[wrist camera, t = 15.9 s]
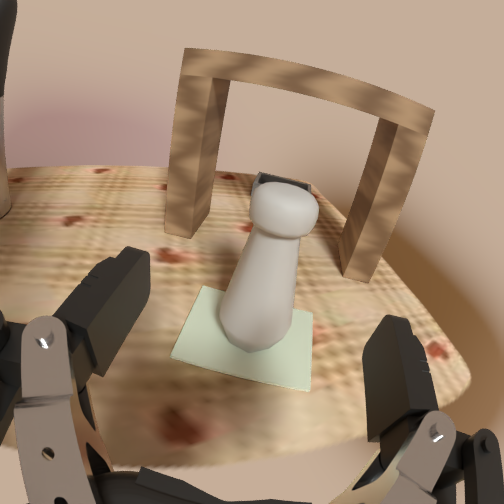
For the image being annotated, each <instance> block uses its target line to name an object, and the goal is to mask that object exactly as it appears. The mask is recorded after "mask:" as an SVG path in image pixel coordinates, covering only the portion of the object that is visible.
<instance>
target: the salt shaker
mask: <svg viewBox="0 0 504 504" xmlns="http://www.w3.org/2000/svg"><path fill="white" fill-rule="evenodd" d="M318 213H319V206H318V203H317V201H316V199H315V198H314V196H313V195H311V194H310V193H309V192H308V191H306V190H304V189H302V188H300V187H297V186H294V185H291V184H287V183H280V182H266V183H264V184H262V185H260V186H259V187H257V188H255V189H254V192H253V194H252V197H251V201H250V208H249V217H250V220H251V221H252V222H253V223H254V226H253V228H252V230H251V233H250V235H249V237H248V240H247V242H246V245H245V247H244V249H243V252H242V254H241V257H240V259H239V261H238V264H237V266H236V268H235V271H234V273H233V276H232V278H231V280H230V283H229V285H228V288H227V290H226V293H225V295H224V297H223V300H222V302H221V308H220V313H219V317H220V321H221V323H222V325H223V327H224V330H225V332H226V335H227V337H228V340H229V342H230V343H231V344H233V345H235V346H236V347H238V348H240V349H242V350H244V351H246V352H248V353H252V352H257V351H261V350H265V349H269V348H271V347H272V346H273V345H275V344H276V343H278V342H279V341H281V340H282V339H283V338H284V336H285V335H286V333H287V331H288V330H289V328H290V326H291V323H292V314H293V305H294V296H295V286H296V276H297V266H298V255H299V246H300V238H301V237H304V236H307V235H308V234H309V233H310V231H311V230H312V229H313V228H314V226H315V224H316V221H317V219H318Z"/></svg>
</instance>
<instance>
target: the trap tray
mask: <svg viewBox="0 0 504 504" xmlns="http://www.w3.org/2000/svg"><path fill="white" fill-rule="evenodd" d="M266 182H280V183H287V184H291V185H294V186H297V187H300V188H302V189H304V190H306V191H308V192H309V193H310V194H311V185H310V184H306V183H303V182H299V181H295V180H291V179H287V178H283V177H279V176H275V175H270V174H266V173H262V172H259V173H258V175H257V177H256V179H255V181H254V183H253V187H252V192H251V196H252V194H253V192H254V189H255V188H257V187H259V186H260V185H262V184H264V183H266Z"/></svg>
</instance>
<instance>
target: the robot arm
mask: <svg viewBox="0 0 504 504" xmlns="http://www.w3.org/2000/svg"><path fill="white" fill-rule="evenodd" d="M16 15H17V0H0V218H1V217H2V216H4V215H5V214H6V213H7V212H8V211H9V210H10V208H11V200H10V193H9V186H8V177H7V168H6V158H5V146H4V145H5V144H4V119H3V118H4V117H3V116H4V114H3V113H4V112H3V111H4V110H3V109H4V96H3V95H4V84H5V79H6V71H7V62H8V56H9V49H10V45H11V39H12V34H13V30H14V26H15V21H16ZM149 294H150V255H149V253H148V252H146V251H143V250H140V249H136V248H133V247H129V246H127V247H125V248H124V249H123V250H122V251H121V253H120V254H119V255H118V256H117V257H116V258H113V257H109V258H107V259H105V260H103V261H101V262H100V263H98V264H96V266H95V267H94V268H93V269H92V270H91V271H90V272H89V273H88V276H86V277H85V278H84V279H83V280H82V281H81V284H79V285H78V286H77V287H76V288H75V289H74V290H73V292H72V293H71V294H70V295H69V296H68V298H67V299H66V300H65V301H64V302H63V303H62V305H61V306H60V307H59V308H58V310H57V311H56V312H55V313H54V314H53V315H52V316H41V317H38V318H35V319H33V320H32V321H31V322H29V323H28V324H27V325H26V324H20V323H14V322H8V321H6V320H5V318H4V316H3V314H2V312H1V310H0V445H1V443H2V441H3V439H4V436H5V434H6V432H7V430H8V428H9V426H10V424H11V421H12V419H13V417H14V422H15V431H16V440H17V447H18V453H19V459H20V465H21V470H22V475H23V479H24V484H25V488H26V492H27V496H28V500H29V503H28V504H312V503H306V502H293V501H282V500H274V499H268V500H255V501H234V502H227V501H223V500H220V499H218V498H216V497H214V496H212V495H210V494H208V493H206V492H204V491H202V490H200V489H198V488H196V487H194V486H192V485H190V484H188V483H186V482H185V481H183V480H180V479H176V478H173V477H170V476H167V475H164V474H161V473H158V472H155V471H153V470H150V469H147V468H144V467H142V466H141V469H140V471H139V472H134V471H115V472H114V470H113V467H112V464H111V461H110V458H109V455H108V452H107V450H106V447H105V445H104V443H103V441H102V438H101V436H100V433H99V429H98V425H97V421H96V417H95V413H94V409H93V404H92V400H91V395H90V390H89V385H88V379H89V377H90V376H91V374H92V372H93V373H95V374H97V375H99V376H101V377H104V375H105V373H106V371H107V370H108V368H109V366H110V364H111V362H112V361H113V359H114V357H115V355H116V354H117V352H118V350H119V348H120V347H121V345H122V343H123V342H124V340H125V338H126V336H127V335H128V333H129V331H130V330H131V328H132V326H133V325H134V323H135V321H136V320H137V318H138V316H139V315H140V313H141V312H142V310H143V308H144V307H145V305H146V303H147V301H148V298H149ZM362 363H363V373H364V385H365V398H366V414H367V436H368V442H380V449H378V450H377V451H376V452H375V454H374V455H373V456H372V458H371V459H370V460H369V462H368V463H367V464H366V466H365V467H364V468H363V469H362V471H361V472H360V473H359V475H358V476H357V477H356V478H355V479H354V481H353V482H352V483H351V484H350V485H349V487H348V488H347V489H346V490H345V491H344V492H343V493H342V494H340V495H339V496H338V497H336V498H335V499H334V500H332V501H331V502H330V503H329V504H456V483H459V482H460V481H462V480H464V482H465V504H504V482H503V471H502V463H501V455H500V448H499V443H498V440H497V438H496V436H495V434H494V433H493V432H491V431H490V430H488V429H481V430H479V431H478V432H476V433H475V434H473V435H472V436H470V435H467V434H464V433H462V432H459V431H456V429H455V425H454V423H453V421H452V420H451V418H450V417H449V416H448V415H447V414H445V413H443V412H441V411H439V409H438V404H437V399H436V395H435V390H434V386H433V381H432V377H431V373H429V371H430V369H429V365H428V363H427V358H426V354H425V351H424V347H423V346H422V344H421V343H420V341H419V340H418V338H417V337H416V336H415V335H413V333H412V330H411V326H410V323H409V321H408V319H406V318H402V317H397V316H393V315H386V316H385V317H384V318H383V319H382V321H381V322H380V324H379V325H378V327H377V328H376V330H375V331H374V333H373V334H372V336H371V337H370V339H369V340H368V342H367V343H366V345H365V347H364V350H363V355H362Z"/></svg>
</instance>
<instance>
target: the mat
mask: <svg viewBox="0 0 504 504" xmlns="http://www.w3.org/2000/svg"><path fill="white" fill-rule="evenodd" d="M225 293H226V292H225V291H222V290H218V289H214V288H210V287H207V286H202V288H201V290H200V293H199V295H198V297H197V299H196V301H195V303H194V305H193V307H192V310H191V312H190V314H189V316H188V318H187V320H186V322H185V324H184V327H183V329H182V331H181V333H180V335H179V337H178V340H177V342H176V344H175V346H174V348H173V351H172V353H171V355H170V358H173V359H176V360H179V361H182V362H185V363H189V364H192V365H195V366H199V367H202V368H206V369H209V370H213V371H217V372H220V373H224V374H228V375H232V376H236V377H240V378H244V379H248V380H252V381H257V382H261V383H266V384H270V385H275V386H280V387H285V388H290V389H296V390H301V391H307V392H309V391H310V384H311V360H312V322H313V313H311V312H307V311H303V310H298V309H294V308H293V314H292V323H291V326H290V328H289V330H288V331H287V333H286V335H285V336H284V338H283V339H282V340H281V341H279V342H278V343H276V344H275V345H273V346H272V347H271V348H269V349H265V350H261V351H257V352H252V353H248V352H246V351H244V350H242V349H240V348H238V347H236V346H235V345H233V344H231V343H230V342H229V340H228V337H227V335H226V332H225V330H224V327H223V325H222V323H221V321H220V317H219V313H220V308H221V302H222V300H223V297H224V295H225Z"/></svg>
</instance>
